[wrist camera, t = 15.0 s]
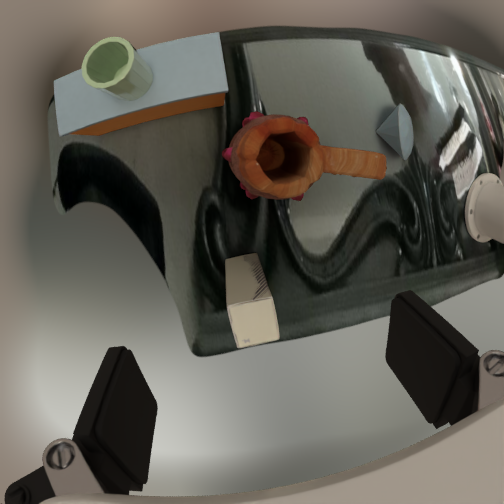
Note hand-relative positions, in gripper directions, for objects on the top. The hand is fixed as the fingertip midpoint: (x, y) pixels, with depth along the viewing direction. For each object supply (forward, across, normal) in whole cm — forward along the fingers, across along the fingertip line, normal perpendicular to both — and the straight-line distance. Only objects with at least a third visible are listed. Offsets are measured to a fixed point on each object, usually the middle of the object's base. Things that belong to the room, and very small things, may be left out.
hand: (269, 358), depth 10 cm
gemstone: (+28, -23, -7) cm, 37 cm away
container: (+28, +7, -15) cm, 33 cm away
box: (+28, 0, +9) cm, 30 cm away
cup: (+18, +7, -15) cm, 25 cm away
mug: (+28, -7, -5) cm, 30 cm away
